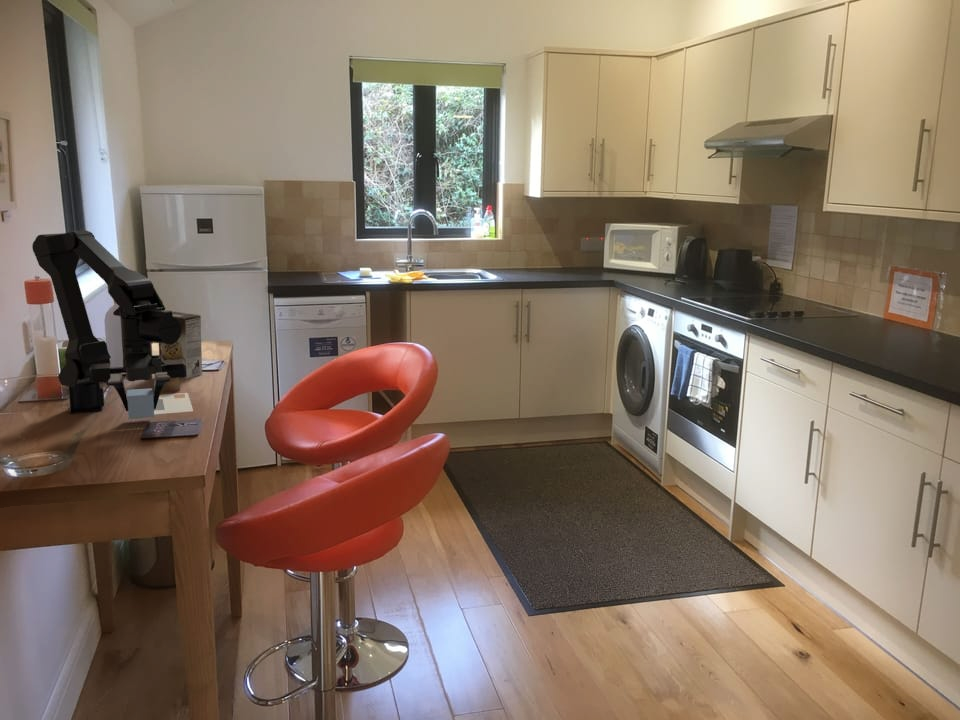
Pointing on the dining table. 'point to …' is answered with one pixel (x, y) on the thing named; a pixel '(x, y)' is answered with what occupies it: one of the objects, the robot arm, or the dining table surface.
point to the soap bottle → (114, 337)
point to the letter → (173, 403)
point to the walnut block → (171, 385)
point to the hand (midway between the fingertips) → (141, 409)
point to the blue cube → (140, 403)
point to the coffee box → (186, 344)
